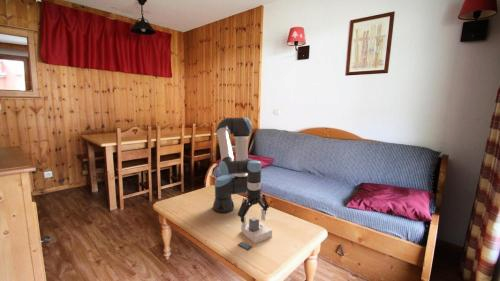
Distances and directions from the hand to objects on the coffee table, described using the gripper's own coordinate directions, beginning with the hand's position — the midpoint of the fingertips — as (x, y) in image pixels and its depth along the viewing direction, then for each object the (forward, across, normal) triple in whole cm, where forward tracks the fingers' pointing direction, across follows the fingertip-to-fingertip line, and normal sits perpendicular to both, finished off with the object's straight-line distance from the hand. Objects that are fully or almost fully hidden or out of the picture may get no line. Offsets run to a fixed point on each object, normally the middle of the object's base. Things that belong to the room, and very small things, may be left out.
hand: (253, 223), depth 140 cm
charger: (+7, 0, 0) cm, 7 cm away
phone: (+8, -10, -6) cm, 14 cm away
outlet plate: (+7, +2, 0) cm, 8 cm away
